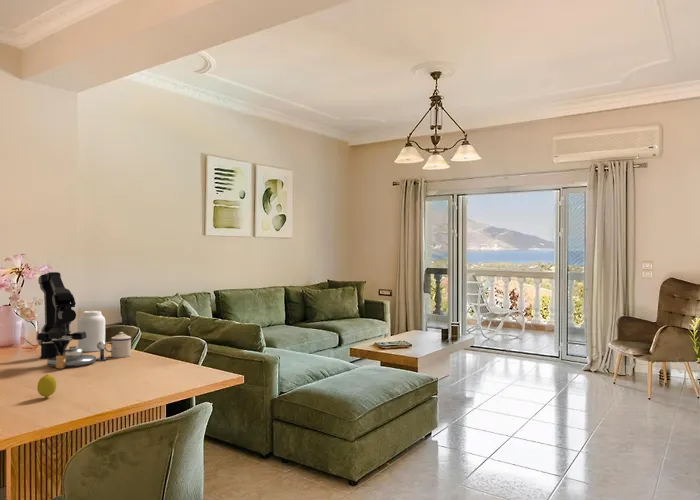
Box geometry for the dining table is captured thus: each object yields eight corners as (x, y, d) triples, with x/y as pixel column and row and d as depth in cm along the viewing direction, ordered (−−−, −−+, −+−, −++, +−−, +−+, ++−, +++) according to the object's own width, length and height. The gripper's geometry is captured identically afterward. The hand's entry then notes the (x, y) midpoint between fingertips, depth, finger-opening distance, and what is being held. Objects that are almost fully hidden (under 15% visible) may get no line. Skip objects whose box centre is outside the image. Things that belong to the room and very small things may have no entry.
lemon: (42, 395, 176) (42, 372, 176) (59, 395, 176) (59, 372, 176) (33, 400, 170) (34, 376, 170) (51, 400, 171) (51, 376, 171)
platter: (35, 368, 215) (35, 356, 215) (58, 358, 236) (59, 347, 236) (83, 367, 217) (83, 355, 217) (102, 357, 239) (102, 346, 239)
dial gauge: (95, 361, 235) (96, 341, 235) (99, 359, 239) (99, 340, 239) (105, 361, 235) (105, 341, 235) (108, 359, 239) (108, 340, 239)
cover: (61, 360, 224) (61, 348, 224) (68, 357, 231) (69, 345, 231) (78, 360, 225) (78, 348, 225) (84, 357, 232) (85, 345, 232)
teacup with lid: (130, 353, 253) (130, 330, 253) (131, 357, 245) (132, 332, 245) (103, 355, 248) (104, 331, 248) (104, 359, 240) (104, 334, 240)
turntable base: (51, 367, 221) (51, 365, 221) (63, 361, 233) (63, 360, 233) (80, 366, 223) (80, 365, 223) (91, 361, 235) (91, 359, 235)
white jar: (110, 348, 268) (110, 310, 268) (93, 352, 256) (93, 312, 256) (89, 347, 271) (90, 309, 271) (72, 351, 258) (72, 312, 259)
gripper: (30, 322, 219) (30, 359, 219) (76, 322, 221) (76, 358, 221) (43, 319, 230) (42, 354, 230) (87, 319, 232) (86, 353, 232)
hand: (61, 355), depth 228 cm, fingers closed
